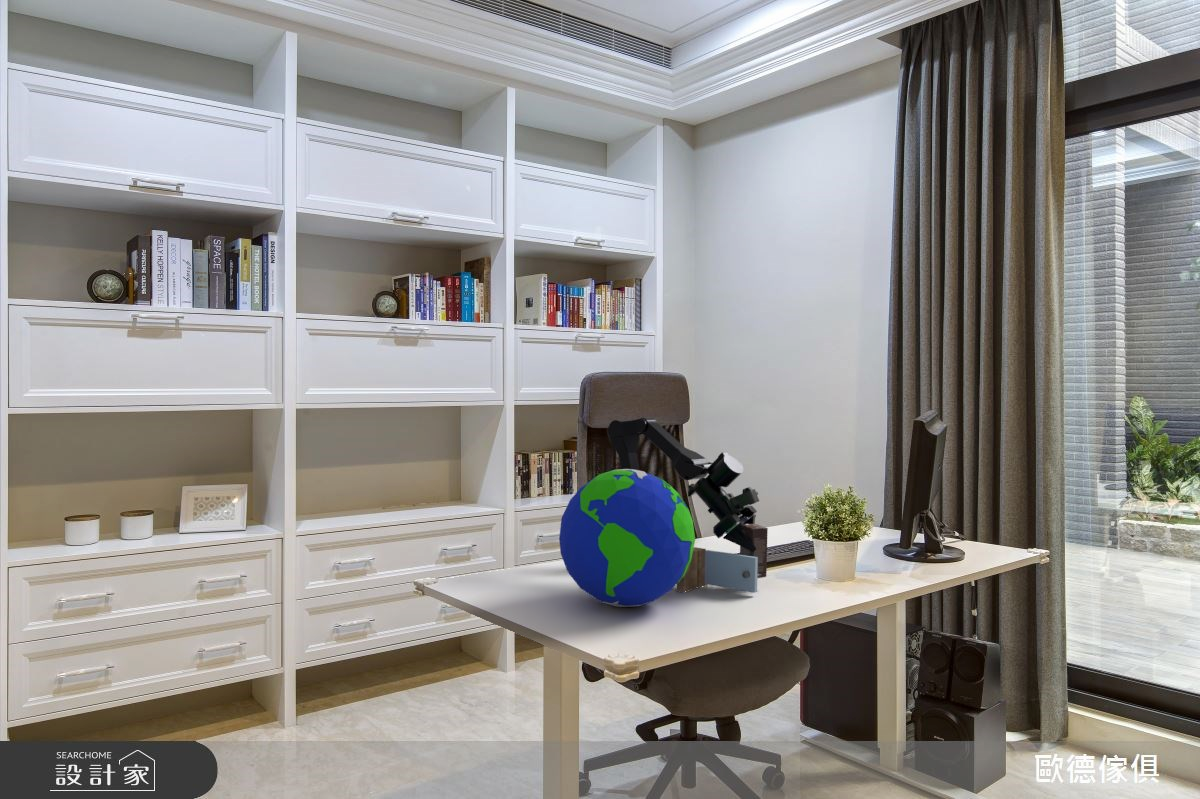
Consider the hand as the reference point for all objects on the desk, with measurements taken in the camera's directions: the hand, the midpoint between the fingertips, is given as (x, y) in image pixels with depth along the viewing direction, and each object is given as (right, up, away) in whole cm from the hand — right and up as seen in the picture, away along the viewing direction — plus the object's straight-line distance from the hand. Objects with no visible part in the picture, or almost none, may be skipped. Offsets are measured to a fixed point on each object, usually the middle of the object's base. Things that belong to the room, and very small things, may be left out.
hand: (758, 548), depth 198 cm
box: (-1, -7, +1) cm, 7 cm away
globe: (-33, -10, -17) cm, 38 cm away
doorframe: (-13, -9, +4) cm, 16 cm away
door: (-8, -9, -5) cm, 12 cm away
